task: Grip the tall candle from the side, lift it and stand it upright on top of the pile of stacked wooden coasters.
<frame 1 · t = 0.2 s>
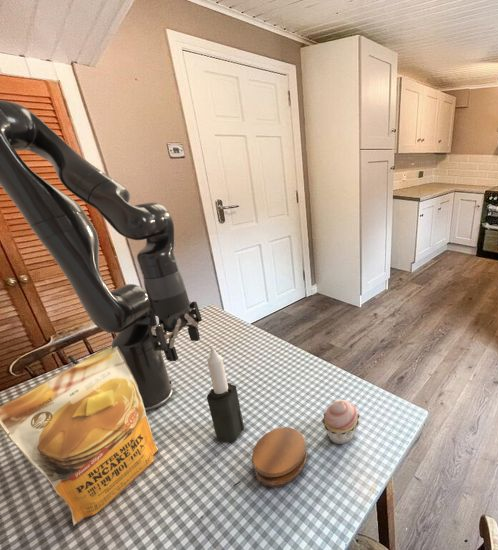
hand: (185, 349, 76), 17 cm above the table, tool pointing down, fingers open, 8 cm apart
pancake mix bag: (117, 482, 63), on the table
candle: (230, 433, 74), on the table
coaster pile: (280, 462, 67), on the table
cupcake: (341, 433, 74), on the table
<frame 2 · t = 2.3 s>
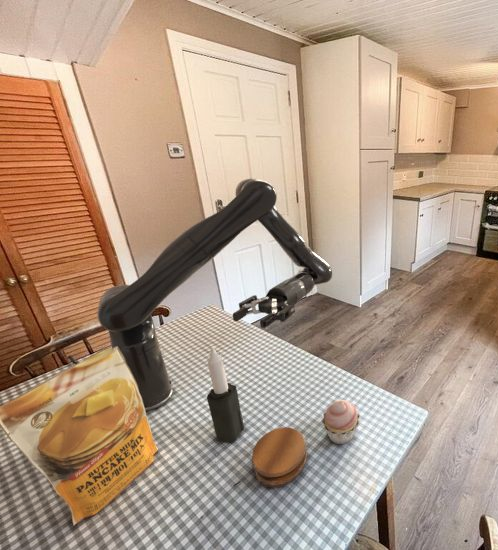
hand: (247, 321, 74), 25 cm above the table, tool horizontal, fingers open, 8 cm apart
nothing on the table moved.
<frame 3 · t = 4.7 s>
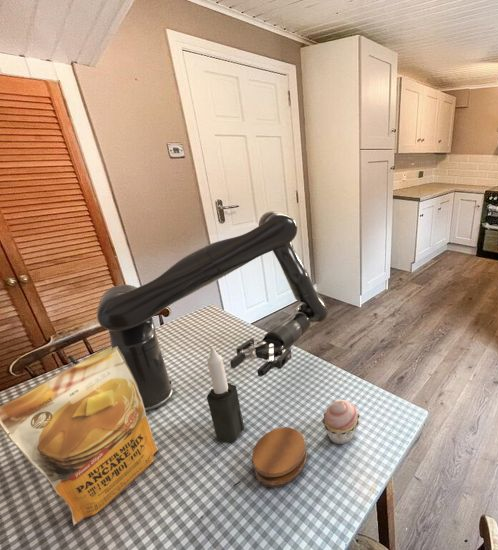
hand: (245, 369, 76), 13 cm above the table, tool horizontal, fingers open, 8 cm apart
nothing on the table moved.
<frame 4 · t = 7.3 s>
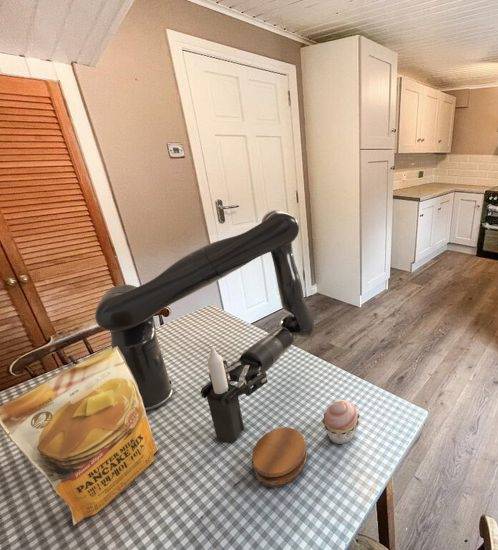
hand: (212, 398, 67), 13 cm above the table, tool horizontal, fingers closed on candle, 5 cm apart
candle: (230, 433, 74), on the table, touching gripper
everything else where it was.
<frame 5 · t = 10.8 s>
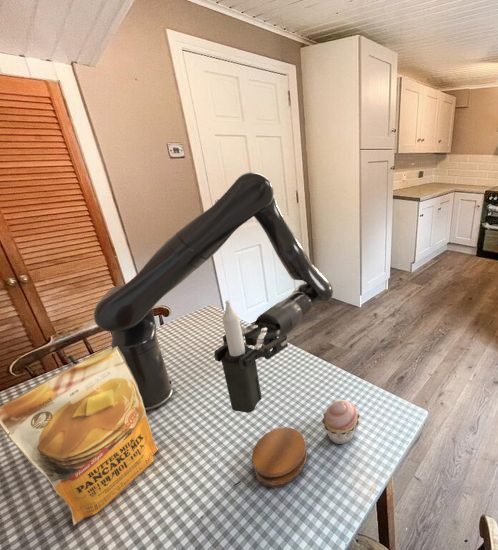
hand: (228, 361, 59), 26 cm above the table, tool horizontal, fingers closed on candle, 5 cm apart
candle: (247, 403, 66), point 13 cm above the table, touching gripper
everything else where it was.
when the fingers open (17 cm above the table, at t = 14.7 s): candle stays where it is, resting on coaster pile.
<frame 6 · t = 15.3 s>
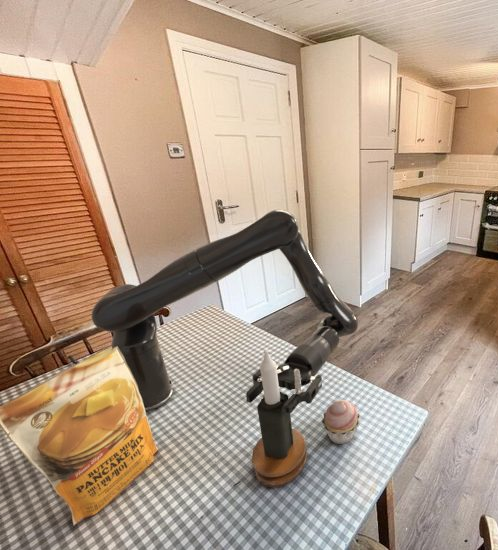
hand: (265, 405, 58), 18 cm above the table, tool horizontal, fingers open, 8 cm apart
candle: (279, 447, 65), point 4 cm above the table, touching coaster pile
everything else where it was.
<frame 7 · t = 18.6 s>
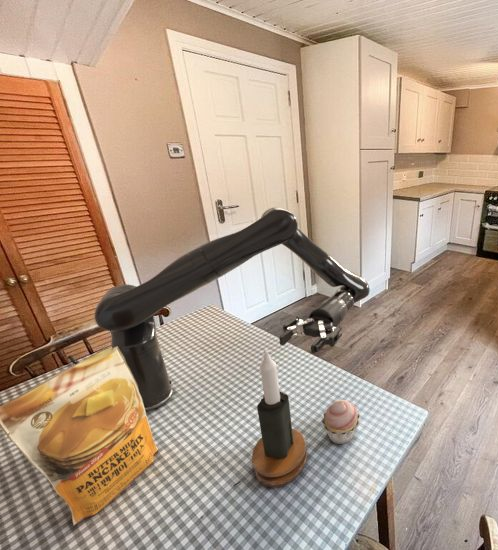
hand: (296, 346, 69), 22 cm above the table, tool horizontal, fingers open, 8 cm apart
nothing on the table moved.
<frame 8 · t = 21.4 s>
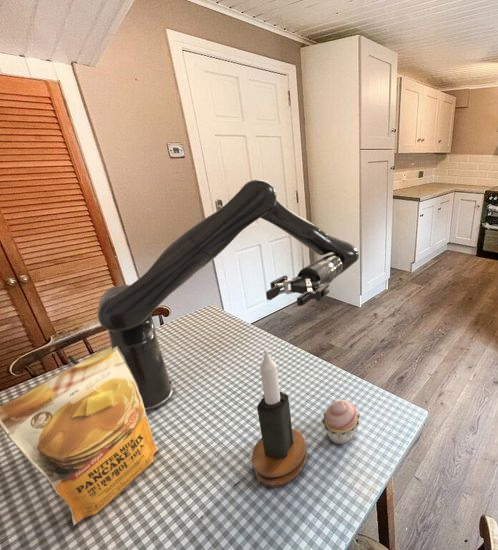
hand: (282, 299, 70), 32 cm above the table, tool horizontal, fingers open, 8 cm apart
nothing on the table moved.
at the end: candle 0.2 cm off-centre on the coaster pile, point 4.2 cm above the coaster pile's base; candle tilted 0°; the gripper is holding nothing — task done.
